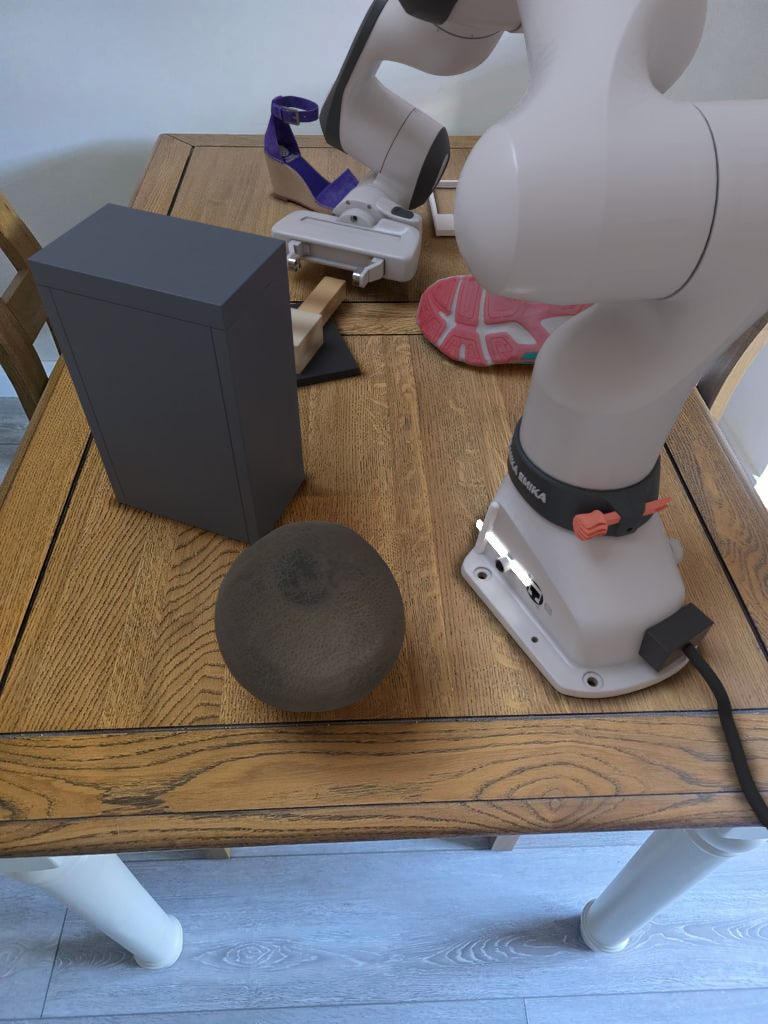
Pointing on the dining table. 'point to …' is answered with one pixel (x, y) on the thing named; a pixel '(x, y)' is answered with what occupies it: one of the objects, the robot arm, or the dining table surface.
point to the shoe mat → (328, 358)
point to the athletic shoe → (486, 323)
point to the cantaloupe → (309, 617)
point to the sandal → (299, 160)
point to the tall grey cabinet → (181, 364)
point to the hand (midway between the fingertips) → (323, 273)
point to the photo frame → (443, 221)
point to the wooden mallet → (315, 319)
